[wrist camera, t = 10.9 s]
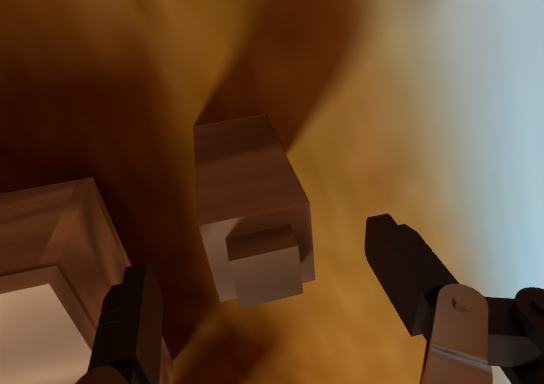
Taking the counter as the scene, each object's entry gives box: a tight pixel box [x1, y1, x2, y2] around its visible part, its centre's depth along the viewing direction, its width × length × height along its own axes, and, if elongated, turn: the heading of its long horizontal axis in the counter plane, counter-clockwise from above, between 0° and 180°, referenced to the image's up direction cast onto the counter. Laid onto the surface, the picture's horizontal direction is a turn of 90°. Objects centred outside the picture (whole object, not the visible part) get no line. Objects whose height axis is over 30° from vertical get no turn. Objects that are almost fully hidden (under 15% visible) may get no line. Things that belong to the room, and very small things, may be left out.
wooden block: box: [193, 113, 315, 308], centre depth 17 cm, size 4×4×10 cm
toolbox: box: [0, 177, 173, 384], centre depth 22 cm, size 18×11×7 cm, turn 6°
